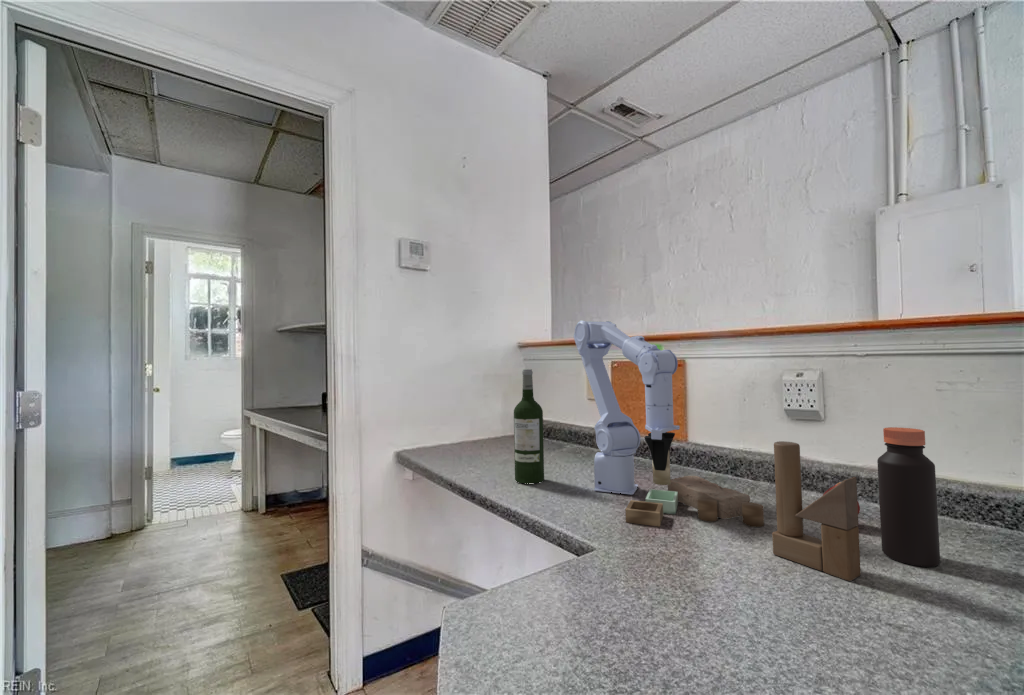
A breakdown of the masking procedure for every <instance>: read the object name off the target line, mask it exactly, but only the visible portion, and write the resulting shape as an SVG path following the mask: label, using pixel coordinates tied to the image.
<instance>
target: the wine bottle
mask: <svg viewBox="0 0 1024 695" xmlns="http://www.w3.org/2000/svg"><path fill="white" fill-rule="evenodd" d="M521 374H522V392H521V394H522V395H521V396H522V398H521V400H520V401H519V402H518V403H517V404H516V405H515V407H514V409H513V443H514V444H513V446H514V449H513V450H514V453H513V454H514V455H513V456H514V480H516V481H517V482H519V483H518V484H520V483H526V484H525V485H529V483H539V482H541V483H543V482H544V481H545V462H544V461H545V457H544V456H545V455H544V454H545V453H544V414H543V413H544V411H543V408H542V406H541V405H540V404H539V403H538V402H537V401H536V400H535V398H534V385H533V384H534V382H533V369H529V368H528V369H522V373H521ZM516 481H515V482H516ZM542 481H543V482H542ZM517 482H516V483H517ZM527 483H528V484H527ZM539 484H540V483H539Z"/></svg>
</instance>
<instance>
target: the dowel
mask: <svg viewBox="0 0 1024 695" xmlns="http://www.w3.org/2000/svg"><path fill="white" fill-rule="evenodd" d="M670 460H671V459H670V452H669V451H668V457H667V465H666V469H665V471H661V470H655V468H654V465H653V460H652V459H651V462H652V463H651V464H652V483H653V484H654V485H658V486H659V485H660V486H666V485H667V486H668V485H669V484H671V480H670V479H671V461H670Z"/></svg>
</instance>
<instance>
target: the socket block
mask: <svg viewBox="0 0 1024 695" xmlns="http://www.w3.org/2000/svg"><path fill="white" fill-rule="evenodd" d="M624 511H625V512H624V513H625V523H629V524H636V525H644V526H652V527H659V528H660V527H661V524H662V521H663V518H664V513H663V503H654V502H646V501H644V500H643V501H642V500H634V499H631V500H630V501H629V502H628V504H627V506H626V508H625V510H624Z"/></svg>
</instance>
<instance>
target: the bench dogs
mask: <svg viewBox="0 0 1024 695" xmlns="http://www.w3.org/2000/svg"><path fill="white" fill-rule="evenodd" d="M697 505H698V509H697V519H698V520H701V521H704V522H708V523H709V522H717V521H718V520H719V519H718V518H719V517H718V515H717V501H716V500H714V499H710V498H699V499H697ZM764 513H765V512H764V505H762V504H761V503H757V502H751V501H750V502H745V503H742V516H741V517H742V523H743V525H745V526H747V527H753V528H762V527H764V526H765V520H764V518H765V515H764Z"/></svg>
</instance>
